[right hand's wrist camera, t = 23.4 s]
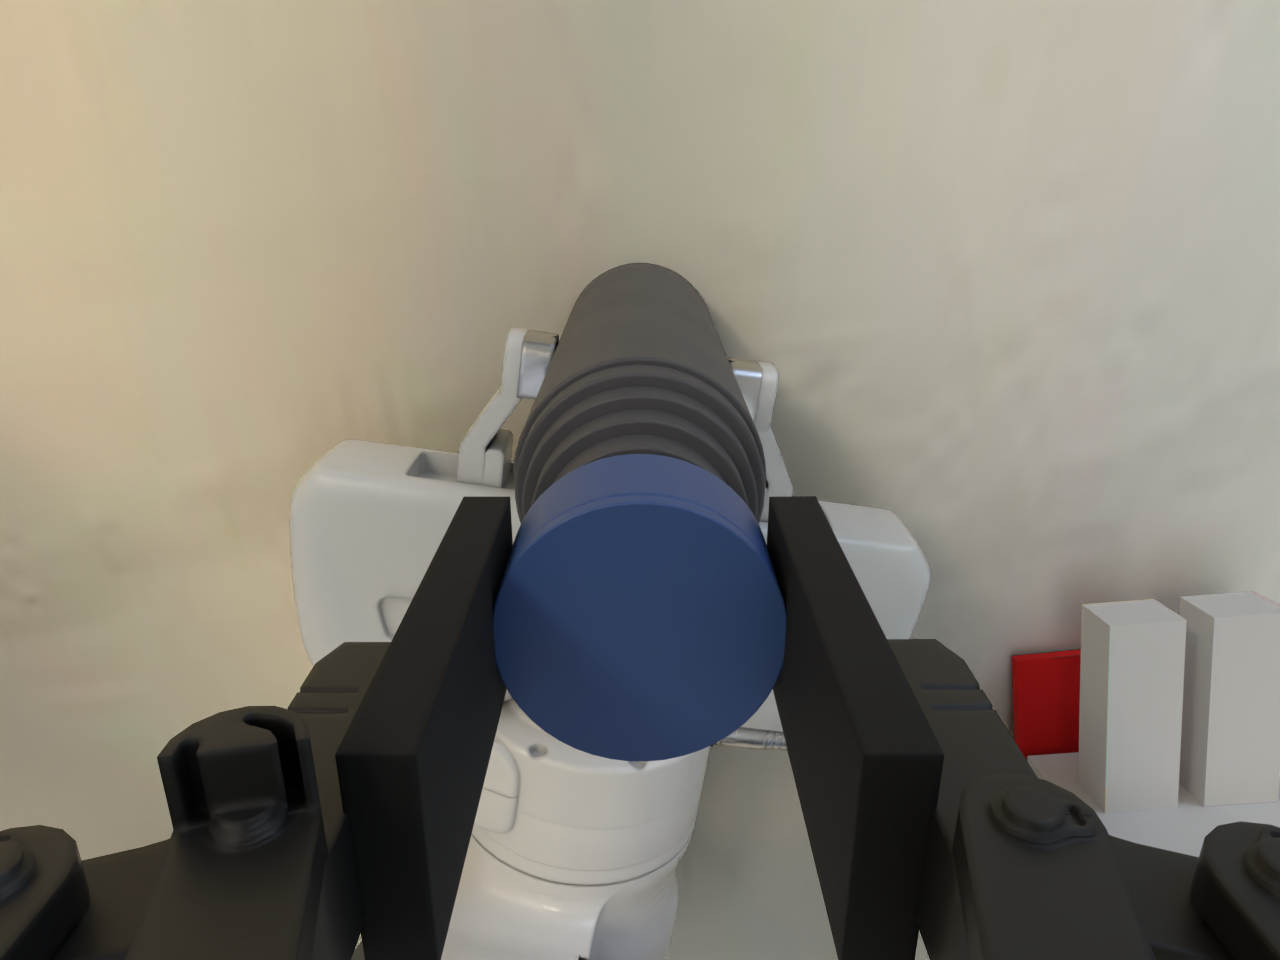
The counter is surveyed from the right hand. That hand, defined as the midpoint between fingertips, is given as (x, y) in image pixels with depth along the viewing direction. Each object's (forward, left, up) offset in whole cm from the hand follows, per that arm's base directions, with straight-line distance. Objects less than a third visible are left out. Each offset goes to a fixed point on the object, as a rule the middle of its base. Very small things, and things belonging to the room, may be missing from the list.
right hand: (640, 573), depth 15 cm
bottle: (0, 0, -20) cm, 20 cm away
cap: (0, 0, +2) cm, 2 cm away
